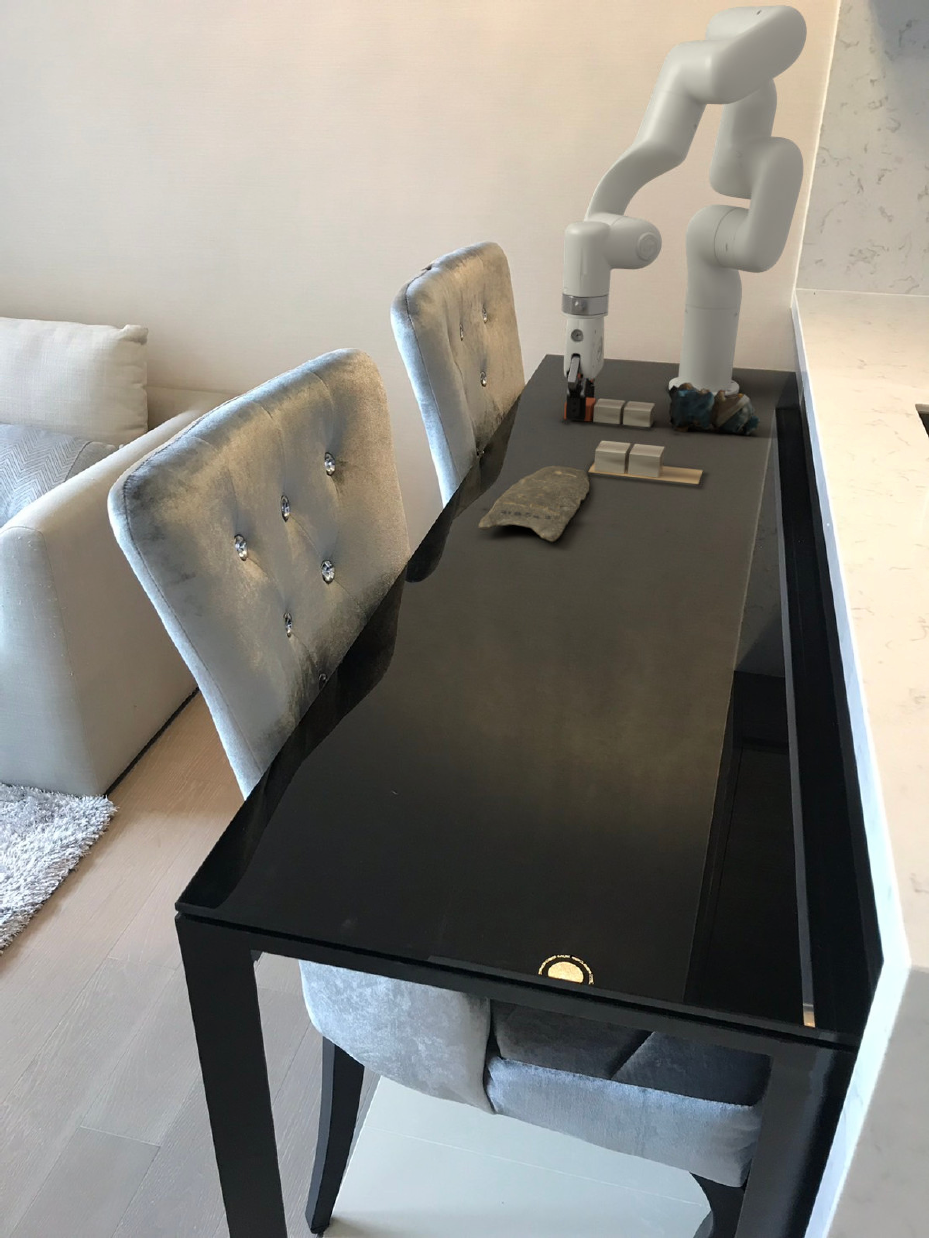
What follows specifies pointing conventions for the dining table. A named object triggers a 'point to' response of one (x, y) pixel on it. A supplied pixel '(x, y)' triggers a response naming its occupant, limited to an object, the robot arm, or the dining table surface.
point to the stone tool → (540, 501)
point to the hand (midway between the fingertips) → (579, 412)
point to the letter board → (665, 474)
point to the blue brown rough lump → (710, 410)
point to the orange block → (587, 409)
